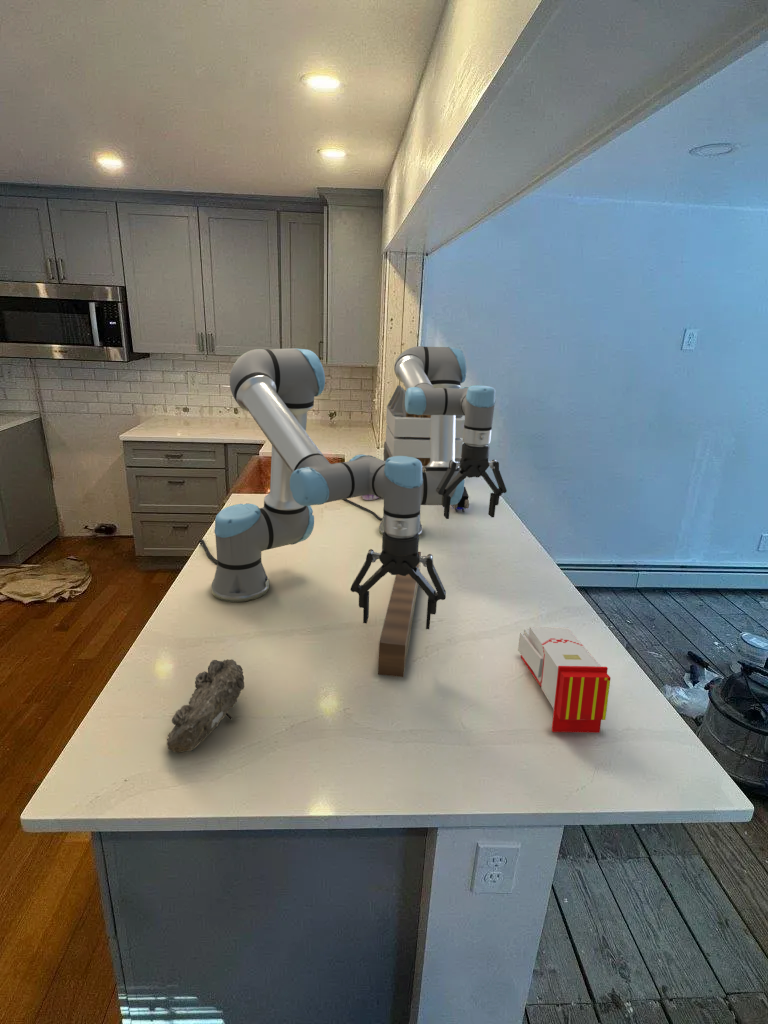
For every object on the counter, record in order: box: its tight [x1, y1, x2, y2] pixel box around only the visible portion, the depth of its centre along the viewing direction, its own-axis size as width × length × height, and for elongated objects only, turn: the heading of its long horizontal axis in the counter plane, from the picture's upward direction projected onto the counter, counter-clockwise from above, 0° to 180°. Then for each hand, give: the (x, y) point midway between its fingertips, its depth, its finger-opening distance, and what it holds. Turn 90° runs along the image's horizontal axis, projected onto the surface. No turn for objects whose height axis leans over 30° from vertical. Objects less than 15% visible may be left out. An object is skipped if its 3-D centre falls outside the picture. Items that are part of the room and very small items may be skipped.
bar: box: [377, 551, 422, 678], centre depth 144 cm, size 50×6×8 cm, turn 173°
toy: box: [517, 626, 611, 734], centre depth 119 cm, size 12×13×30 cm
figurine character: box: [451, 486, 470, 513], centre depth 227 cm, size 7×8×15 cm
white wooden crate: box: [383, 384, 465, 471], centre depth 268 cm, size 34×33×41 cm
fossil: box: [166, 658, 245, 754], centre depth 106 cm, size 22×10×15 cm
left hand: (396, 623), depth 123 cm, fingers open, 13 cm apart
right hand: (468, 516), depth 162 cm, fingers open, 13 cm apart
